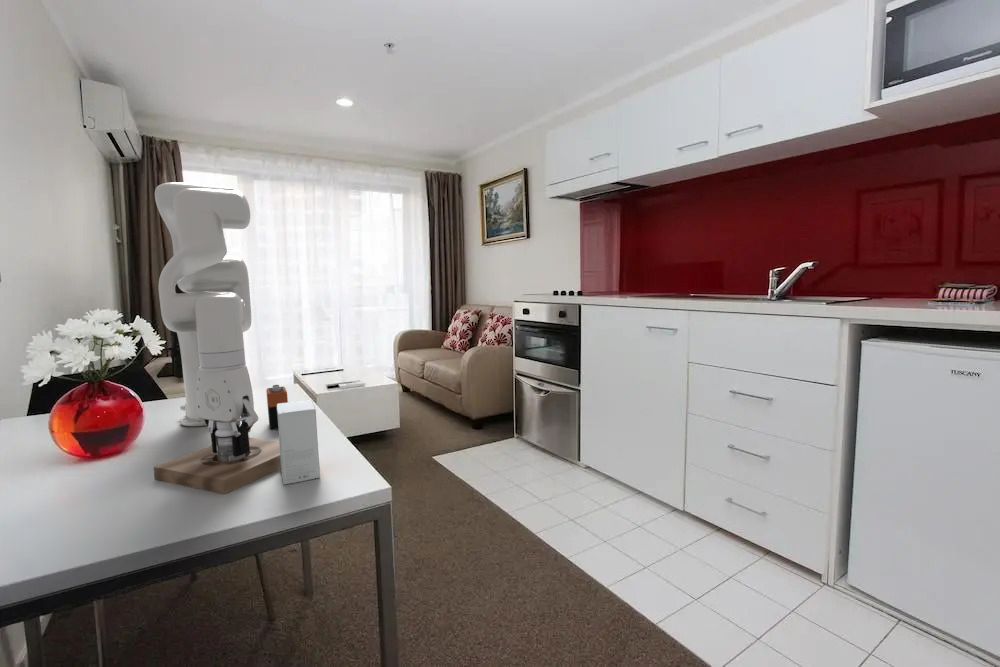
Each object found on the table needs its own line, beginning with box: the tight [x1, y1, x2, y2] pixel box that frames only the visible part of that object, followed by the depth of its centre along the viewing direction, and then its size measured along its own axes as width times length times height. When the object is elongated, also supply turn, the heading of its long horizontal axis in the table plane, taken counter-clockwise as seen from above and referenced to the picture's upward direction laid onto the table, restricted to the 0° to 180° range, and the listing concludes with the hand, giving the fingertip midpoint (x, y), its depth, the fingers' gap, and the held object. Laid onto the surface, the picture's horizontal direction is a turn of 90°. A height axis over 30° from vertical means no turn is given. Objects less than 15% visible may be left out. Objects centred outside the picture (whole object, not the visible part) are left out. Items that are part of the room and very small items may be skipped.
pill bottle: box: [215, 421, 246, 462], centre depth 94 cm, size 5×5×8 cm
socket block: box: [153, 437, 281, 495], centre depth 95 cm, size 18×18×2 cm
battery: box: [265, 384, 289, 430], centre depth 121 cm, size 4×7×10 cm, turn 28°
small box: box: [277, 399, 321, 485], centre depth 90 cm, size 8×6×13 cm
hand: (231, 451), depth 95 cm, fingers closed on pill bottle, 4 cm apart
